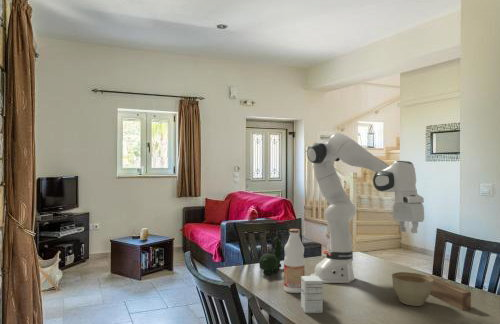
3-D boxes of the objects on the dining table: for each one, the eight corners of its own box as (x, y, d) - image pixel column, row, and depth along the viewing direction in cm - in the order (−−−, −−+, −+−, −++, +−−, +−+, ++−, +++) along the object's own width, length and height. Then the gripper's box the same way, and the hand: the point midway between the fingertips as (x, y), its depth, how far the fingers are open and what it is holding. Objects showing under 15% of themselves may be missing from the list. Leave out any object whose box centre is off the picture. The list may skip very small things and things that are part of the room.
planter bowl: (429, 312, 159) (429, 284, 159) (387, 304, 167) (387, 278, 167) (435, 300, 172) (435, 275, 172) (396, 294, 181) (396, 269, 181)
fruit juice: (293, 294, 178) (293, 231, 178) (279, 289, 186) (280, 229, 186) (308, 291, 184) (309, 230, 184) (294, 286, 191) (295, 227, 192)
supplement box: (300, 306, 164) (300, 275, 164) (318, 306, 164) (318, 275, 164) (304, 313, 156) (304, 280, 156) (323, 312, 157) (323, 280, 157)
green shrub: (270, 269, 228) (253, 276, 205) (271, 235, 230) (255, 239, 207) (286, 271, 224) (271, 278, 201) (287, 237, 226) (272, 240, 203)
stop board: (462, 310, 161) (462, 292, 161) (424, 291, 184) (424, 276, 184) (470, 309, 162) (470, 292, 162) (431, 291, 185) (432, 276, 185)
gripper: (388, 199, 177) (390, 231, 175) (410, 198, 157) (413, 234, 155) (401, 199, 178) (404, 230, 176) (426, 198, 157) (428, 233, 156)
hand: (408, 232), depth 165 cm, fingers open, 8 cm apart
